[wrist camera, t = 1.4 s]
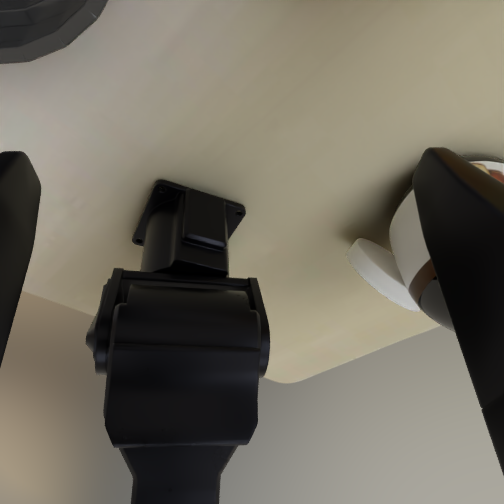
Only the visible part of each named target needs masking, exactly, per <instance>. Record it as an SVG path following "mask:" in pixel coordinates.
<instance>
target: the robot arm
mask: <svg viewBox="0 0 504 504" xmlns="http://www.w3.org/2000/svg"><path fill="white" fill-rule="evenodd" d="M412 185H413V190H414V195H415V200H416V205H417V210H418V214H419V219H420V224H421V229H422V233H423V237H424V241H425V244H426V247H427V250H428V253H429V256H430V259H431V262H432V265H433V268H434V271H435V274H436V277H437V280H438V282H439V285H440V288H441V291H442V294H443V297H444V300H445V303H446V306H447V309H448V312H449V315H450V318H451V321H452V324H453V327H454V330H455V333H456V336H457V339H458V341H459V344H460V347H461V350H462V353H463V356H464V359H465V362H466V365H467V368H468V371H469V374H470V377H471V380H472V383H473V386H474V389H475V392H476V395H477V398H478V400H479V404H480V406H481V408H483V409H482V413H483V416H484V419H485V422H486V425H487V428H488V431H489V434H490V437H491V439H492V443H493V446H494V449H495V452H496V454H497V457H498V460H499V463H500V466H501V469H502V472H503V475H504V183H502V182H501V181H499V180H497V179H496V178H494V177H493V176H491V175H489V174H488V173H486V172H484V171H483V170H481V169H480V168H478V167H476V166H475V165H473V164H471V163H470V162H468V161H467V160H465V159H463V158H462V157H460V156H458V155H457V154H455V153H454V152H452V151H450V150H449V149H447V148H444V147H436V148H428V149H426V150H425V151H424V153H423V155H422V157H421V160H420V162H419V164H418V166H417V168H416V171H415V173H414V175H413V180H412ZM160 187H164V188H160ZM40 196H41V184H40V181H39V178H38V176H37V174H36V172H35V170H34V168H33V166H32V164H31V162H30V160H29V158H28V156H27V155H26V154H25V153H24V152H22V151H5V152H2V153H0V367H1V363H2V359H3V356H4V352H5V348H6V345H7V341H8V338H9V334H10V330H11V327H12V323H13V319H14V316H15V312H16V308H17V305H18V301H19V298H20V294H21V291H22V287H23V284H24V280H25V276H26V273H27V269H28V265H29V262H30V258H31V254H32V250H33V245H34V240H35V232H36V225H37V218H38V210H39V203H40ZM237 211H240V212H237ZM245 214H246V210H245V207H244V206H243V205H241V204H238V203H235V202H232V201H229V200H226V199H223V198H220V197H216V196H213V195H210V194H207V193H204V192H201V191H198V190H194V189H191V188H188V187H185V186H182V185H179V184H176V183H173V182H169V181H166V180H157V181H156V182H155V184H154V186H153V189H152V191H151V193H150V196H149V198H148V201H147V203H146V205H145V208H144V210H143V213H142V215H141V217H140V220H139V222H138V225H137V227H136V229H135V232H134V234H133V239H132V241H133V243H134V244H136V245H139V246H143V247H144V248H143V255H142V263H141V270H140V271H129V270H124V269H122V268H114V270H113V274H112V277H111V279H108V282H107V284H106V285H104V287H103V292H102V297H101V301H100V306H99V309H98V312H97V314H96V316H95V318H94V320H93V322H92V324H91V326H90V328H89V330H88V332H87V336H86V345H87V346H88V347H89V348H90V349H91V350H92V352H93V358H94V361H95V370H96V374H97V375H107V379H106V390H105V400H104V418H105V427H106V430H107V432H108V435H109V438H110V440H111V442H112V445H113V446H114V448H119V450H120V451H121V454H122V456H123V458H124V460H125V462H126V463H127V466H128V468H129V470H130V472H131V474H132V476H133V486H132V498H131V504H219V492H220V491H219V490H220V477H221V473H222V472H223V470H224V468H225V467H226V465H227V463H228V462H229V460H230V458H231V457H232V455H233V453H234V452H235V450H236V448H237V447H238V445H247V444H248V443H249V441H250V439H251V437H252V435H253V433H254V431H255V428H256V426H257V423H258V403H257V398H258V382H259V378H262V377H263V376H264V375H265V373H266V370H267V366H268V361H269V352H270V331H269V323H268V319H267V315H266V311H265V307H264V303H263V300H262V296H261V292H260V288H259V285H258V281H257V278H249V277H248V279H243V278H229V258H228V239H229V238H230V236H231V235H232V234H233V232H234V231H235V229H236V228H237V226H238V225H239V223H240V222H241V220H242V219H243V218H244V216H245Z"/></svg>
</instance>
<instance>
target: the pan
mask: <svg viewBox="0 0 504 504" xmlns="http://www.w3.org/2000/svg"><path fill="white" fill-rule="evenodd" d="M108 1H109V0H0V64H9V63H22V62H30V61H33V60H35V59H38V58H40V57H43V56H45V55H48V54H50V53H53V52H55V51H58V50H60V49H63V48H65V47H66V46H68V45H69V44H70V43H71V42H73V41H74V40H75V39H76V38H77V37H78V36H79V35H80V34H82V33H83V32H84V31H85V30H86V29H87V28H88V27H90V26H91V25H92V24H93V23H94V22H95V21H96V20H97V19H98V17H100V15H101V13H102V11H103V10H104V8H105V6H106V4H107V2H108Z"/></svg>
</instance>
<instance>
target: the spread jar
mask: <svg viewBox="0 0 504 504" xmlns="http://www.w3.org/2000/svg"><path fill="white" fill-rule="evenodd" d="M462 158H463V159H465V160H467V161H468V162H470V163H471V164H473V165H475V166H476V167H478V168H480V169H481V170H483V171H484V172H486V173H488V174H489V175H491V176H493V177H494V178H496V179H497V180H499V181H501V182H502V183H504V161H502V160H500V159H497V158H493V157H487V156H464V157H462ZM389 233H390V243H391V248H392V251H393V254H394V255H393V254H392V253H390V252H389V251H388V250H386V249H384V248H383V247H381V246H379V245H378V244H376V243H374V242H372V241H370V240H367V239H364V238H358V239H357V240H356V241H355V242H354V243H353V245H352V246H351V247H350V249H349V250H348V251H347V252H346V256H347V259H348V261H349V262H350V264H351V265H352V267H353V268H354V269H355V270H356V271H357V272H358V274H359V275H360V276H361V277H362V278H363V279H364V280H366V281H367V282H368V283H369V284H370V285H371V286H372V287H374V288H375V289H376V290H377V291H379V292H380V293H381V294H383V295H384V296H385V297H387V298H388V299H390V300H391V301H393V302H395V303H396V304H398V305H400V306H402V307H404V308H406V309H408V310H411V311H416V312H417V311H420V310H422V311H423V312H424V313H425V314H426V315H428V316H429V317H430V318H431V319H433V320H434V321H436V322H437V323H439V324H440V325H442V326H444V327H446V328H448V329H450V330H452V331H454V332H455V330H454V327H453V324H452V321H451V318H450V315H449V312H448V309H447V306H446V303H445V300H444V297H443V294H442V291H441V288H440V285H439V282H438V280H437V277H436V274H435V271H434V268H433V265H432V262H431V259H430V256H429V253H428V250H427V247H426V244H425V241H424V237H423V233H422V229H421V224H420V219H419V214H418V210H417V205H416V200H415V195H414V190H413V185H412V186H411V187H410V188H409V189H408V190H407V192H406V193H405V194H404V196H403V197H402V199H401V201H400V202H399V204H398V206H397V208H396V210H395V212H394V215H393V218H392V222H391V226H390V231H389Z"/></svg>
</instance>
